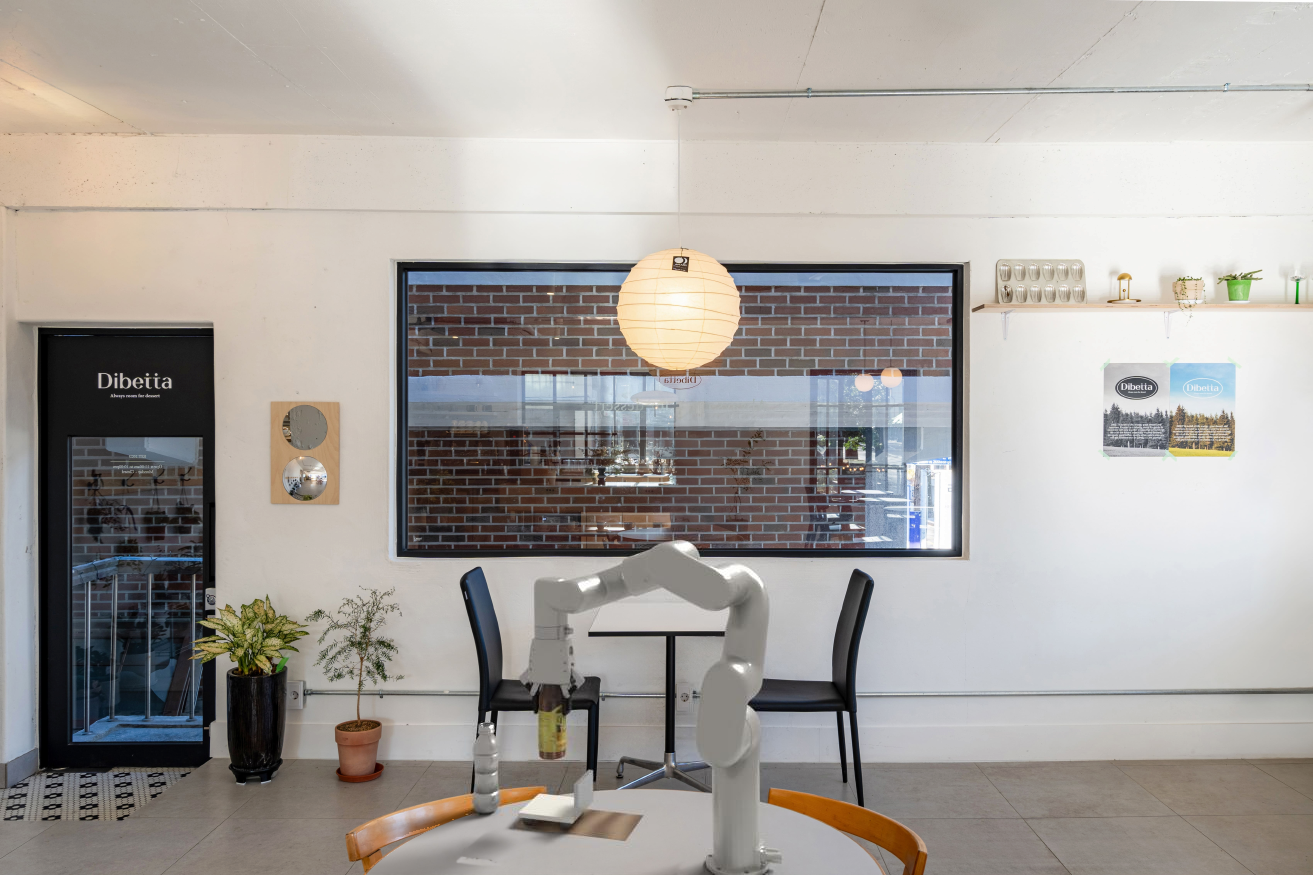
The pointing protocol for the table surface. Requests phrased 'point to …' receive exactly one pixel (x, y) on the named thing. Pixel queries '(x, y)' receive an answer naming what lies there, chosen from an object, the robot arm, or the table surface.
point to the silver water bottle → (486, 770)
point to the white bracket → (560, 804)
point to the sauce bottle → (551, 723)
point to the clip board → (592, 825)
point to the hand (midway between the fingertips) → (552, 712)
